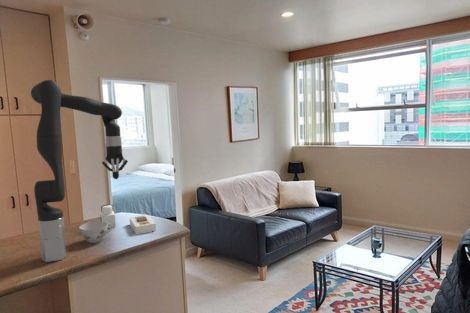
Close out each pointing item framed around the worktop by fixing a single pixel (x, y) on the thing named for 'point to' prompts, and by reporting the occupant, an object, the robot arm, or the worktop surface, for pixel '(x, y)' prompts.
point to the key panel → (142, 228)
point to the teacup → (94, 231)
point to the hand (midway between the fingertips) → (116, 178)
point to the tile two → (141, 219)
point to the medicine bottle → (108, 215)
